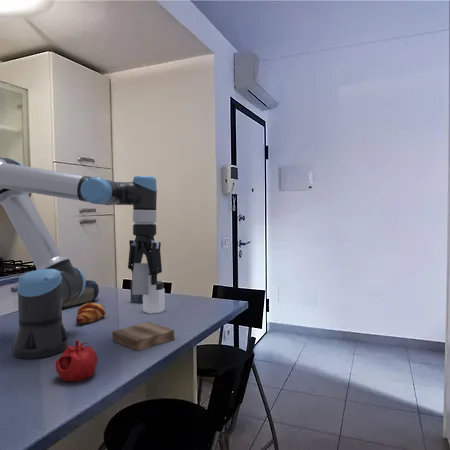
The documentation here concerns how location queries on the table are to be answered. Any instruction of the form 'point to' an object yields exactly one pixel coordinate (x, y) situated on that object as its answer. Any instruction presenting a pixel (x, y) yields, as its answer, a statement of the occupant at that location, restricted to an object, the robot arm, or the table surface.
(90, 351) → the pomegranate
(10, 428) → the table surface
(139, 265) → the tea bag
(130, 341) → the pedestal
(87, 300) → the portable speaker
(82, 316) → the croissant
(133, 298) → the box
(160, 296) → the jar
